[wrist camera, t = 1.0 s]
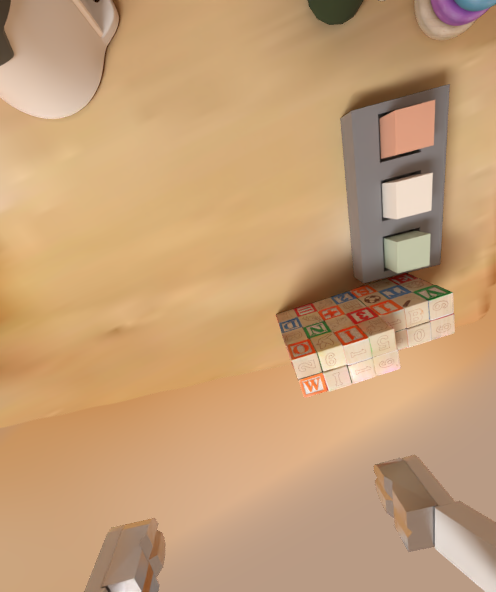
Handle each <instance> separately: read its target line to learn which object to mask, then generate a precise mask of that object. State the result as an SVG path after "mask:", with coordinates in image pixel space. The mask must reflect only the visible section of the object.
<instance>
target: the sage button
mask: <svg viewBox="0 0 496 592" xmlns="http://www.w3.org/2000/svg"><path fill="white" fill-rule="evenodd" d="M430 236H431V234H430V233H425V232H419V231H410V232H406V233H403V234H399V235H395V236H391V237H387V238H384V263H385V268H387V269H389V270H391V271H394V272H396V273H401V272H405V271H409V270H413V269H417V268H421V267H425V266H429V264H430Z"/></svg>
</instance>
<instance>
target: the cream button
mask: <svg viewBox="0 0 496 592" xmlns="http://www.w3.org/2000/svg"><path fill="white" fill-rule="evenodd" d="M432 179H433V173H426V174H417V175H412V176H408V177H404V178H401V179H397V180H393V181H389V182H385V183H382V207H383V217H384V218H390V219H400V218H404V217H408V216H412V215H416V214H420V213H424V212H428V211H431V207H432Z"/></svg>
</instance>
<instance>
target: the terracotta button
mask: <svg viewBox="0 0 496 592" xmlns="http://www.w3.org/2000/svg"><path fill="white" fill-rule="evenodd" d="M379 123H380V151H381V159H382V158H386V157H390V156H395V155H398V154H402V153H406V152H410V151H414V150H417V149H421V148H425V147H429V146H432V145H434V123H435V100H432V101H428V102H425V103H421V104H417V105H413V106H410V107H406V108H402V109H399V110H395V111H393V112H391V113H389V114H387V115H385V116H383V117H382V118H380V119H379Z"/></svg>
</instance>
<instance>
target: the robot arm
mask: <svg viewBox="0 0 496 592" xmlns="http://www.w3.org/2000/svg"><path fill="white" fill-rule="evenodd" d="M118 23H119V15H118V12H117V9H116V7H115V5H114V3H113V1H112V0H100V1H99V2H98V3H96V2H95V0H0V98H1V99H3V100H4V101H5V102H7V103H8V104H10V105H11V106H13V107H14V108H16V109H18V110H20V111H22V112H24V113H27V114H29V115H32V116H36V117H40V118H47V119H57V118H63V117H67V116H70V115H72V114H74V113H76V112H78V111H79V110H81V109H82V108H83V107H84V106H86V105H87V104H88V102H89V101H90V100H91V99H92V97H93V96H94V94H95V92H96V90H97V88H98V86H99V83H100V80H101V76H102V71H103V64H104V56H105V51H106V47H107V45H108V44H109V42H110V40H111V39H112V37H113V35H114V34H115V32H116V29H117V27H118ZM374 473H375V474H376V476H377V479H376V480H375V485H376V490H377V493H378V496H379V499H380V501H381V503H382V505H383V507H384V509H385V511H386V512H387V513H388V514H389V515H390V516H392V517H393V518H394V522H395V529H396V530H397V532H398V534H399V536H400V538H401V539H402V541H403V543H404V545H405V547H406V549H407V550H408V552H411V551H416V550H420V549H426V548H431V547H435V549H436V550H437V551H438V552H440V553H441V554H442V555H443V556H444V557H445V558H447V559H448V560H449V561H450V562H451V563H452V564H454V565H455V566H456V567H457V568H458V569H459V570H461V571H462V572H463V573H464V574H465V575H466V576H468V577H469V578H470V579H471V580H472V581H474V582H475V583H476V584H477V585H478V586H479V587H480V588H482V589H483V590H484V591H485V592H496V522H494V521H493V520H491V519H489V518H488V517H486V516H484V515H482V514H481V513H479V512H478V511H476V510H474V509H473V508H471V507H469V506H468V505H466V504H464V503H463V502H461V501H457V502H455V501H454V500H453V498H452V497H451V496H450V495H449V493H448V492H447V491H446V490H445V489H444V487H443V486H442V485H441V484H440V483H439V481H438V480H437V479H436V478H435V477H434V475H433V474H432V473H431V472H430V471H429V469H428V468H427V467H426V466H425V465H424V463H423V462H422V461H421V460H420V459H419V457H417V456H416V455H411V456H408V457H404V458H398V459H394V460H390V461H387V462H383V463H379V464H375V465H374ZM157 526H158V523H157V521H156V519H155V518H152V519H148V520H143V521H139V522H134V523H130V524H125V525H120V526H117V527H112V528H111V529H110V531H109V532H108V534H107V536H106V538H105V540H104V543H103V545H102V548H101V550H100V553H99V556H98V558H97V561H96V563H95V566H94V568H93V571H92V573H91V576H90V578H89V581H88V583H87V586H86V588H85V591H84V592H158V591H159V582H158V579H157V576H158V574H159V573H160V571H161V569H162V568H163V564H164V558H165V540H164V536H163V534H162V532H160V531H158V530H157Z"/></svg>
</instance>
